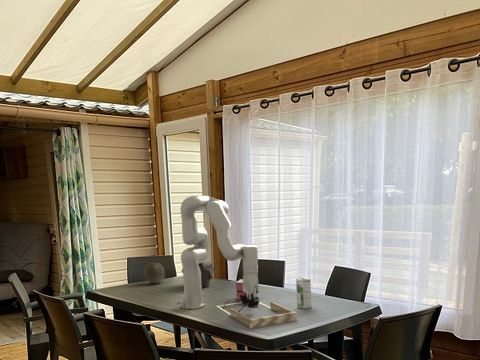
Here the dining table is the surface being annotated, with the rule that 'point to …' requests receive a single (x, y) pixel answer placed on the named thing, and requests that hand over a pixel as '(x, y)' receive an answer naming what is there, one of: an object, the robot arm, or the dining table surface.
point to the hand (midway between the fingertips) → (251, 307)
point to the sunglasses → (245, 300)
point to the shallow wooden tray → (284, 316)
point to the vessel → (205, 272)
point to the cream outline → (238, 303)
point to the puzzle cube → (240, 289)
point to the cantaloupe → (154, 272)
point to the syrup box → (303, 292)
